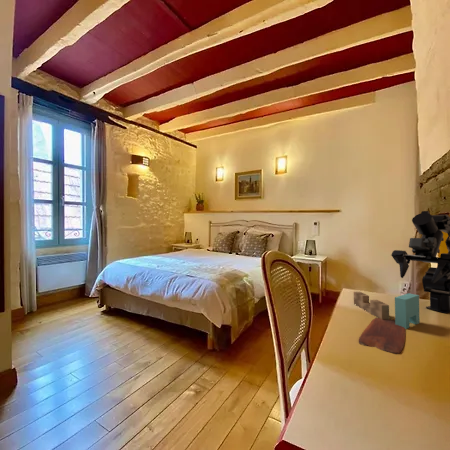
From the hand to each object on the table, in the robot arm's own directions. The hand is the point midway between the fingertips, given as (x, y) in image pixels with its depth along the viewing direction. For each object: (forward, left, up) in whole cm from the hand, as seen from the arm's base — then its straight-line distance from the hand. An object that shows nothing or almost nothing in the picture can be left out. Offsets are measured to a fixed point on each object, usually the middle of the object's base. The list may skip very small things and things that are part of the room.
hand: (416, 279), depth 85 cm
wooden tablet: (+19, +3, -14) cm, 24 cm away
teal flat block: (+7, +2, -13) cm, 15 cm away
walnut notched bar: (+7, -12, -13) cm, 19 cm away
